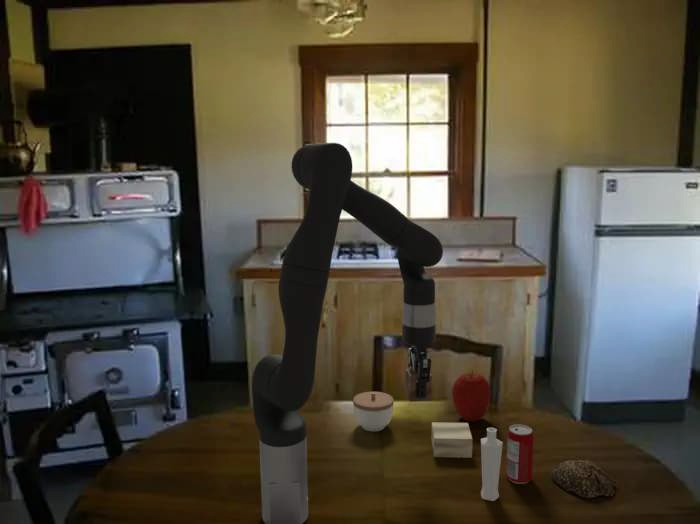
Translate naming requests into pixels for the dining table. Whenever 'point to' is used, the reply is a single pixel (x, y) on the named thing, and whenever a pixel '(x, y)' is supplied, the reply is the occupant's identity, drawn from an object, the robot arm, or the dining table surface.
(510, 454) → the soda can
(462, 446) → the birch block
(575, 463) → the bread roll
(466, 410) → the apple
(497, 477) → the perfume bottle
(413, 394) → the walnut block
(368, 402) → the lidded jar
